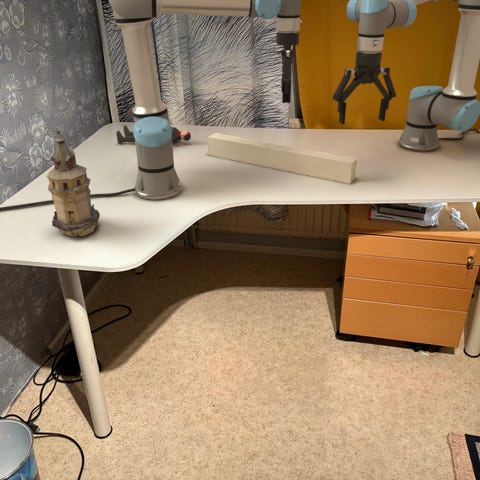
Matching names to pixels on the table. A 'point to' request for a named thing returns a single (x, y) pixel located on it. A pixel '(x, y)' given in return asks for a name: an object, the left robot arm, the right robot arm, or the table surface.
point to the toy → (175, 136)
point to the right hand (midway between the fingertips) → (361, 121)
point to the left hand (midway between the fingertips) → (285, 97)
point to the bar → (283, 157)
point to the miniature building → (70, 193)
